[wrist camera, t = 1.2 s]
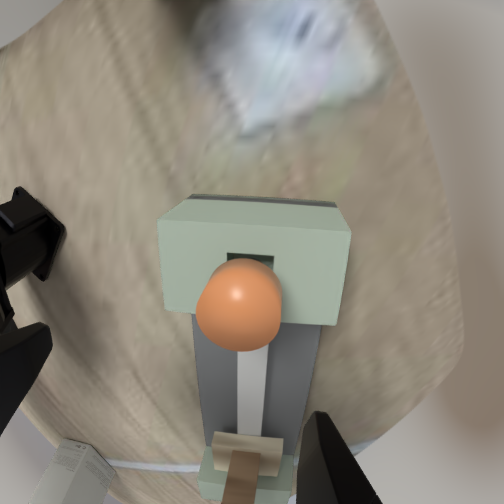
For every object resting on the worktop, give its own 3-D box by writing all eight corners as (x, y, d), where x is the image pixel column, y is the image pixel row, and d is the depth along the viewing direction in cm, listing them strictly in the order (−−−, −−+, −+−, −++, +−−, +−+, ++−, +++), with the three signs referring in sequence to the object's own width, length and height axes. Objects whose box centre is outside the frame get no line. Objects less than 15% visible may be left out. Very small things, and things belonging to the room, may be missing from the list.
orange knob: (281, 304, 16) (277, 355, 12) (218, 298, 16) (198, 346, 12) (286, 243, 15) (283, 284, 11) (217, 239, 15) (193, 276, 11)
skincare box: (63, 436, 36) (21, 506, 22) (93, 444, 35) (51, 523, 21) (89, 465, 39) (56, 531, 25) (119, 473, 38) (87, 546, 24)
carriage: (278, 464, 26) (272, 529, 19) (217, 457, 26) (202, 520, 19) (283, 438, 24) (277, 512, 17) (214, 431, 24) (195, 501, 18)
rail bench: (288, 465, 30) (285, 507, 25) (212, 457, 31) (201, 498, 26) (334, 202, 19) (351, 232, 14) (193, 194, 20) (156, 219, 15)
